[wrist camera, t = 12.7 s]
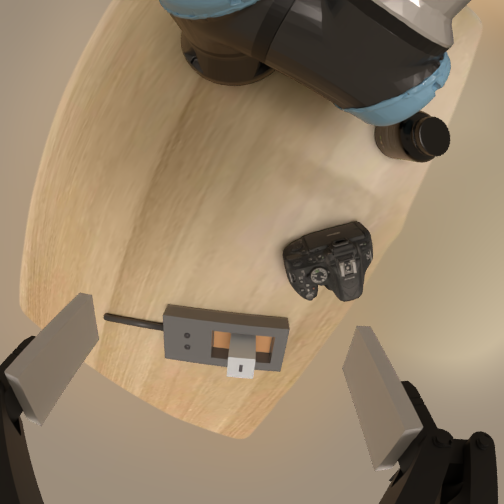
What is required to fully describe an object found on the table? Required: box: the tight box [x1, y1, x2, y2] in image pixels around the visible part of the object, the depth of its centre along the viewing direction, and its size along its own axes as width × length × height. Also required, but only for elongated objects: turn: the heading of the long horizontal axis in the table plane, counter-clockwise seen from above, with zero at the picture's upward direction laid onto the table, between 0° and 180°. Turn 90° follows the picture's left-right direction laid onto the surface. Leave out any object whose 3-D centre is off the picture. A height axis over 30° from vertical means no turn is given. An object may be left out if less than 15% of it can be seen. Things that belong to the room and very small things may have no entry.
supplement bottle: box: [375, 111, 450, 162], centre depth 34 cm, size 7×7×12 cm
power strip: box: [104, 304, 289, 372], centre depth 49 cm, size 33×9×4 cm, turn 84°
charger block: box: [227, 333, 256, 379], centre depth 47 cm, size 4×4×8 cm
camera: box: [283, 222, 373, 302], centre depth 41 cm, size 13×10×10 cm
